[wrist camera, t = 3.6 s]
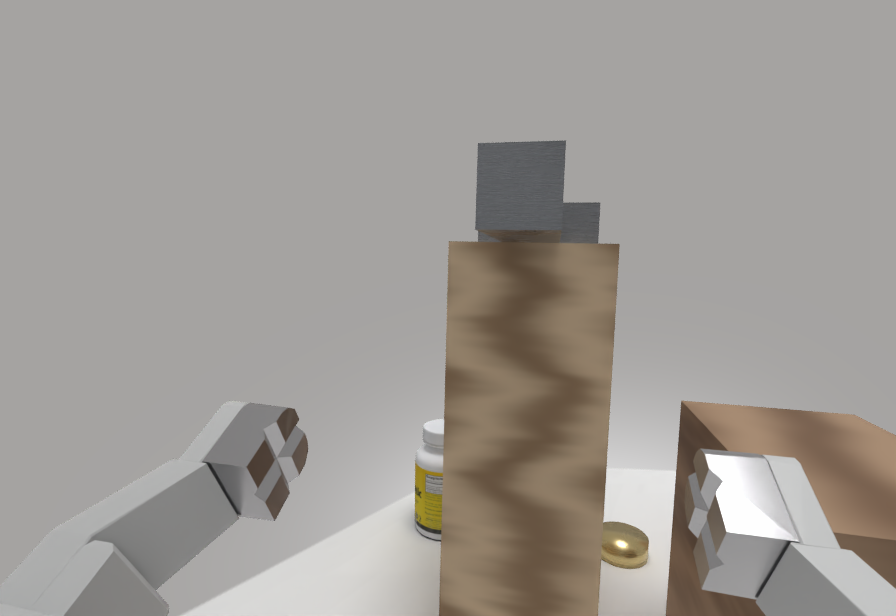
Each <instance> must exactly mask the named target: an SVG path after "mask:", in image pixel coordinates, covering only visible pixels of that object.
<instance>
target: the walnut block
mask: <svg viewBox="0 0 896 616" xmlns="http://www.w3.org/2000/svg"><path fill="white" fill-rule="evenodd" d="M699 449H711V450H722V451H733V452H745V453H756V454H759V455H771V456H781V457H791V458H795V459H796V460H797V461H798V462H799V463H800V464H801V466H802V468H803V470H804V472H805V474H806V476H807V478H808V481H809V483H810V485H811V487H812V489H813V491H814V493H815V495H816V497H817V500H818V502H819V504H820V506H821V508H822V510H823V512H824V514H825V516H826V518H827V521H828V523H829V525H830V527H831V529H832V531H833V533H834V535H835V537H836V540H837V542H838V544H839V546H840V548H841V549H845V550H851V551H853V552H854V553H855V554H856V555H857V556H859V557H860V558H861V559H862V560H863V561H864V562H865V563H867V564H868V565H869V566H870V567H871V568H872V569H874V570H875V571H876V572H877V573H878V574H879V575H880V576H882V577H883V578H884V579H885V580H886V581H887V582H888V583H890V584H891V585H892V586H893V587H894V588H895V589H896V435H894V434H891V433H890V432H888V431H886V430H883V429H882V428H880V427H878V426H876V425H874V424H871V423H870V422H868V421H866V420H864V419H862V418H860V417H858V416H856V415H850V414H838V413H826V412H825V413H824V412H813V411H801V410H789V409H777V408H763V407H752V406H740V405H727V404H715V403H703V402H690V401H682V402H681V415H680V430H679V442H678V456H677V469H676V483H675V497H674V510H673V524H672V538H671V552H670V565H669V579H668V593H667V607H666V616H766V615H765V614H764V613H763V611H762V610H761V609H760V607H759V606H758V605H757V604H756V599H750V598H745V597H740V596H734V595H729V594H723V593H718V592H713V591H707V590H702V589H701V585H700V580H699V576H698V571H697V567H696V562H695V558H694V553H693V551H694V548H695V545H696V543H697V540H698V538H697V537H696V536H695V535H694V534H693V533H692V531H691V530H690V529H689V528H688V524H687V519H686V514H685V504H684V499H685V486H686V483H687V479H688V476H690V475H692V474H693V473H695V467H694V463H693V460H694V457H695V454H696V452H697V451H698V450H699Z"/></svg>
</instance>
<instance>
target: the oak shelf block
mask: <svg viewBox="0 0 896 616" xmlns="http://www.w3.org/2000/svg"><path fill="white" fill-rule="evenodd" d="M618 260H619V244H589V243H523V242H457V241H455V242H454V241H453V242H452V241H449V255H448V293H447V333H446V371H445V372H446V373H445V411H444V413H445V414H444V449H443V488H442V527H441V566H440V605H439V616H598V603H599V585H600V568H601V551H602V534H603V517H604V500H605V483H606V466H607V449H608V431H609V415H610V397H611V381H612V364H613V347H614V330H615V312H616V296H617V278H618Z"/></svg>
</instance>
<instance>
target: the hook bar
mask: <svg viewBox="0 0 896 616" xmlns="http://www.w3.org/2000/svg"><path fill="white" fill-rule="evenodd" d="M565 148H566V141H541V142H540V141H538V142H505V143H478V162H477V163H478V164H477V194H476V227H475V229H476V230H478V242H523V243H589V244H598V234H599V217H600V203H563V189H564V168H565Z"/></svg>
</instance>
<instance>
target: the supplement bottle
mask: <svg viewBox="0 0 896 616" xmlns="http://www.w3.org/2000/svg"><path fill="white" fill-rule="evenodd" d="M423 441H424V443H425V444H424V445H422V446H421V447H420V448H419V449H418V451H417V453H416V461H415V462H416V463H415V525H416V528H417V529H418V531H419V532H420V533H421V534H423V535H424V536H426V537H429V538H432V539H437V540H441V527H442V488H443V449H444V419H438V420H432V421H429V422H427V423H425V424H424V426H423Z"/></svg>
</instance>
